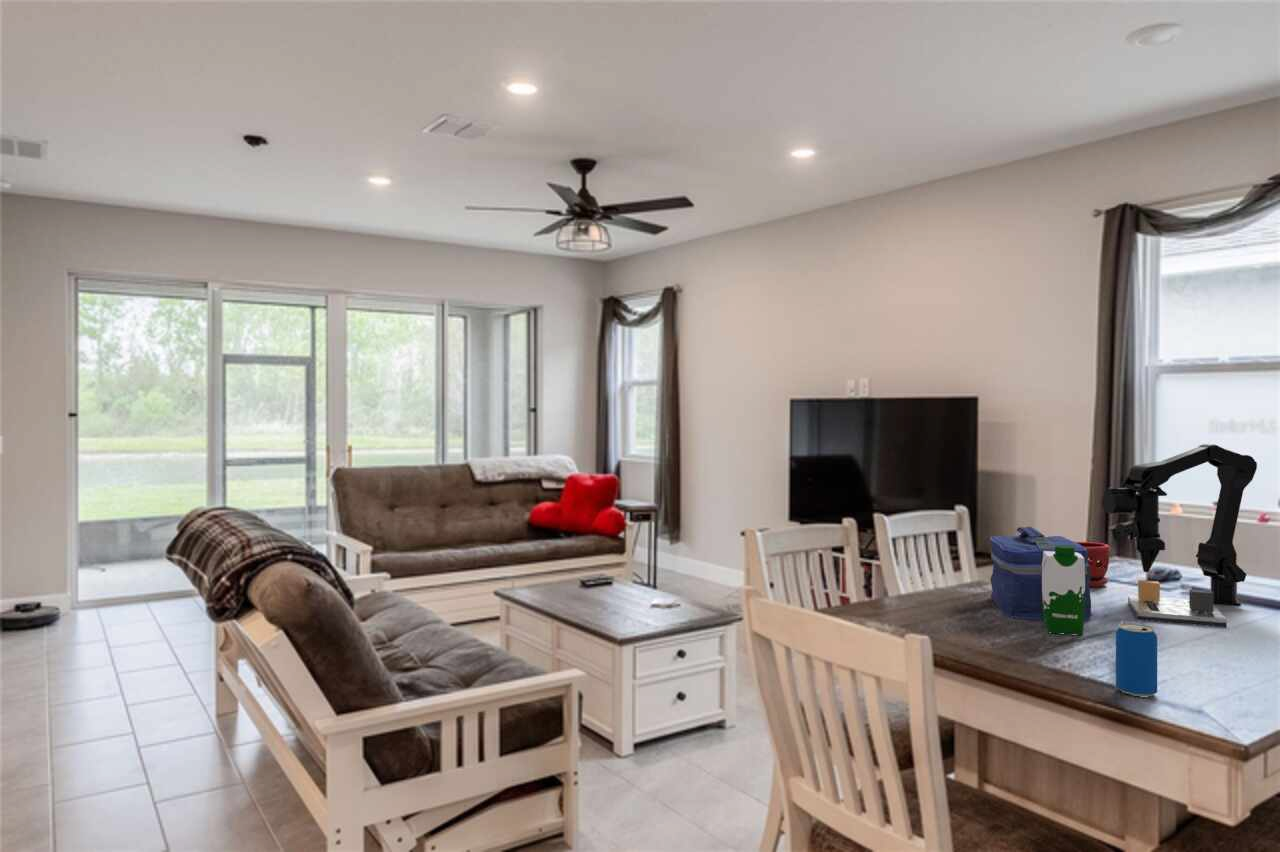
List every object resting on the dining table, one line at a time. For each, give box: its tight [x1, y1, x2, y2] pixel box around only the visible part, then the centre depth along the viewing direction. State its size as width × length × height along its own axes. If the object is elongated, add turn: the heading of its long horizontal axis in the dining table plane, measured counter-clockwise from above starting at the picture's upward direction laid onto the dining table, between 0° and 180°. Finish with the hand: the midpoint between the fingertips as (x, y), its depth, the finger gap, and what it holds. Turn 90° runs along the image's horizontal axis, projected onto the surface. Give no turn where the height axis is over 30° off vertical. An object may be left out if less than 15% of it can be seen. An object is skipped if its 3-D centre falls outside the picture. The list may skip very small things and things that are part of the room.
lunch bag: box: [989, 526, 1092, 622], centre depth 215 cm, size 31×21×20 cm
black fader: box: [1189, 589, 1215, 615], centre depth 201 cm, size 3×4×6 cm
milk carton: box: [1042, 545, 1085, 636], centre depth 192 cm, size 9×9×20 cm
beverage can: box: [1115, 622, 1158, 697], centre depth 150 cm, size 6×6×12 cm
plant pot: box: [1075, 541, 1110, 588], centre depth 243 cm, size 13×13×12 cm
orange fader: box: [1137, 579, 1161, 605], centre depth 212 cm, size 3×4×6 cm
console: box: [1127, 594, 1228, 628], centre depth 207 cm, size 20×18×2 cm
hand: (1146, 571), depth 218 cm, fingers closed
